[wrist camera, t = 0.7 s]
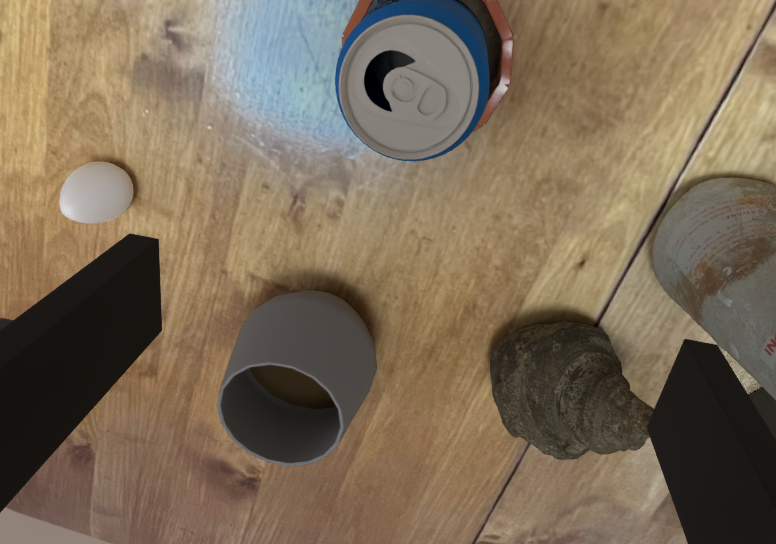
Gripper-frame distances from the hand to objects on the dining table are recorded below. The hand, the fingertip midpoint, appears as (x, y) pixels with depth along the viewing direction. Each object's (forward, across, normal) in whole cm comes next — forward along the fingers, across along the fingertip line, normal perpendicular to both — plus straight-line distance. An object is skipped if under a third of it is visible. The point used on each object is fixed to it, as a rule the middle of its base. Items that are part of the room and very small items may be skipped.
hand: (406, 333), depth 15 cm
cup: (+24, -6, -16) cm, 30 cm away
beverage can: (+24, -2, +4) cm, 24 cm away
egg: (+24, -22, -8) cm, 33 cm away
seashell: (+24, +9, -16) cm, 30 cm away
